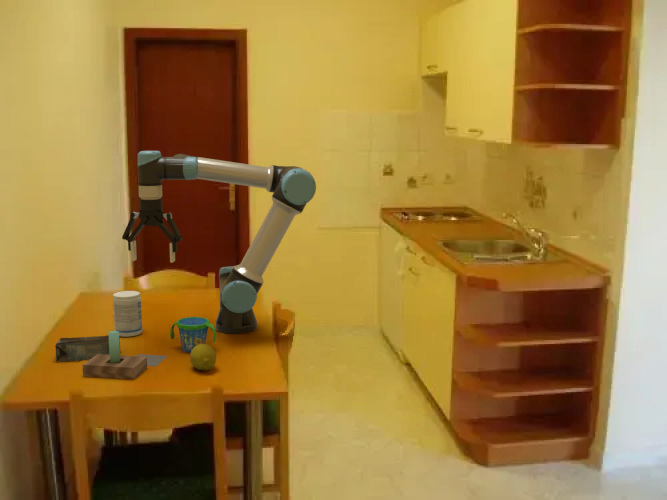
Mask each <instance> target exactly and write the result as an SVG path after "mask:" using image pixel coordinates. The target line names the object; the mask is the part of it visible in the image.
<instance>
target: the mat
mask: <svg viewBox="0 0 667 500" xmlns="http://www.w3.org/2000/svg"><path fill="white" fill-rule="evenodd" d="M136 356H140V357H147V367H157V366H159V364H161V363H162V362H163V361H164V360H165V359H166V358H167V357H168V355H161V354H160V355H157V354H141V353H137V354H136Z"/></svg>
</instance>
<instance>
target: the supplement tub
mask: <svg viewBox="0 0 667 500" xmlns="http://www.w3.org/2000/svg"><path fill="white" fill-rule="evenodd" d="M112 306H113V323H114V331H119V337H123V338H128V337H135V336H138V335H140V334H142V333H143V317H142V315H143V312H142V297H141V292H139V291H138V290H137V291H136V290H123V291H119V292H115V293H113V295H112Z"/></svg>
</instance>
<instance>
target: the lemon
mask: <svg viewBox="0 0 667 500" xmlns="http://www.w3.org/2000/svg"><path fill="white" fill-rule="evenodd" d="M189 354H190V356H189V357H190V359H189V360H190V363H191V365H192V366H193V367H194V368H195V369H196V370H199V371H203V372H207V371H210V370H212V369H213V368H214V366H215V364H216V361H217V354H216V351H215V350H214V348H213V347H212V346H211V345H209V344H207V343H206V344H199V345H197V346H195V347H194V348H193V349H192V351H191V353H189Z"/></svg>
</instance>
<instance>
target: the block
mask: <svg viewBox="0 0 667 500" xmlns="http://www.w3.org/2000/svg"><path fill="white" fill-rule="evenodd" d="M147 369H148V366H147V357H140V356H137V355H121V354H120V363H119V364H117V363H110V355H106V354H97V355H96V356H94V357H93V358H91V359H88V360H87V361H85V362H84V363H83V364H82V377H86V378H103V379H117V380H118V379H119V380H133V381H134V380H136V378H138V377H140V376H141V374H143V373H144V371H146V370H147Z"/></svg>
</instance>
